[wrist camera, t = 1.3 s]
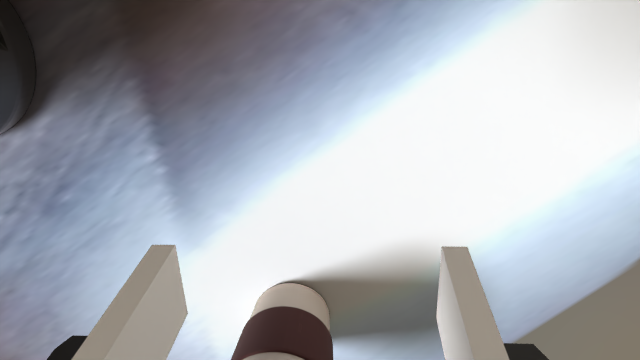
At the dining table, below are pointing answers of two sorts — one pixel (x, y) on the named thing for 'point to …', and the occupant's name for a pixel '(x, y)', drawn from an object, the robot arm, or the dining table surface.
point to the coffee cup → (287, 326)
